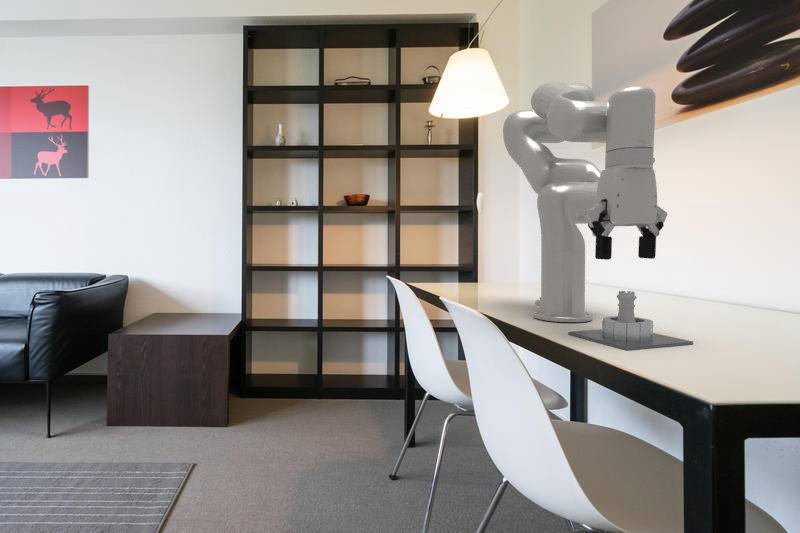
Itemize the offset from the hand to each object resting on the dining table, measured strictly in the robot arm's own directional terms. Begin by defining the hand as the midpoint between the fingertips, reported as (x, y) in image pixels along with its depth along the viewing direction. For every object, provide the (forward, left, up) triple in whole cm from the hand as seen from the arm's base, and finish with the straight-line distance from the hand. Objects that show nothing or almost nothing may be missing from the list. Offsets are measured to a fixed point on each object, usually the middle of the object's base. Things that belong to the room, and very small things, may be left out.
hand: (625, 258), depth 78 cm
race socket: (+1, 0, -14) cm, 14 cm away
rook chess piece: (0, 0, -14) cm, 14 cm away
